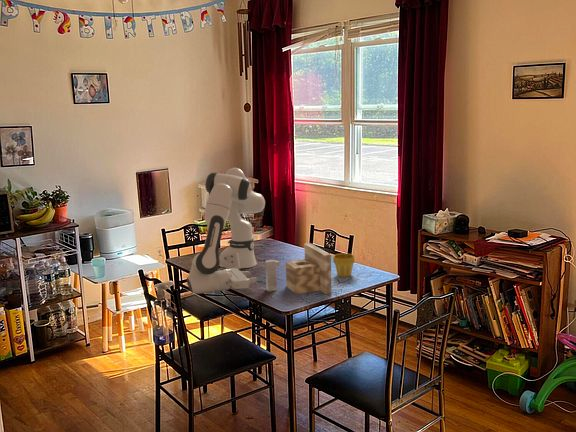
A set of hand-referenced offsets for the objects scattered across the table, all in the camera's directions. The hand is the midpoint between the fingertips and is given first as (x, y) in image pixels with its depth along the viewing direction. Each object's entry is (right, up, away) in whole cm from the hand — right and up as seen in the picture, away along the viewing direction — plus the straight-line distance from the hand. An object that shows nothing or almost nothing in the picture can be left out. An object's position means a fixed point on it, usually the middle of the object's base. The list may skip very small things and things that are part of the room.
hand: (253, 276), depth 262 cm
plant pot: (+44, -2, +24) cm, 50 cm away
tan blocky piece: (+24, -6, +6) cm, 26 cm away
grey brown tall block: (+8, -7, +4) cm, 11 cm away
